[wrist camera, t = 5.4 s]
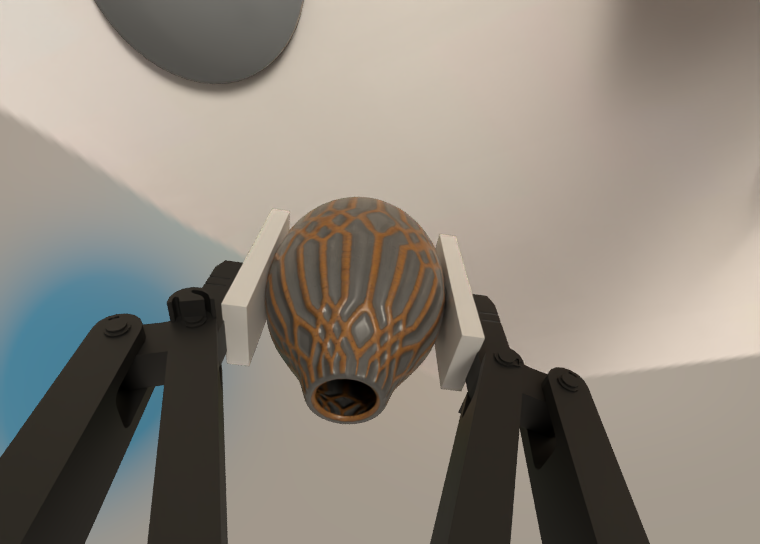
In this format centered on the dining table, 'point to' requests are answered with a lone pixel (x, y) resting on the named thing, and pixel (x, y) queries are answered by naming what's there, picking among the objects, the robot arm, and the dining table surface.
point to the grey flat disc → (206, 34)
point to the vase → (354, 304)
